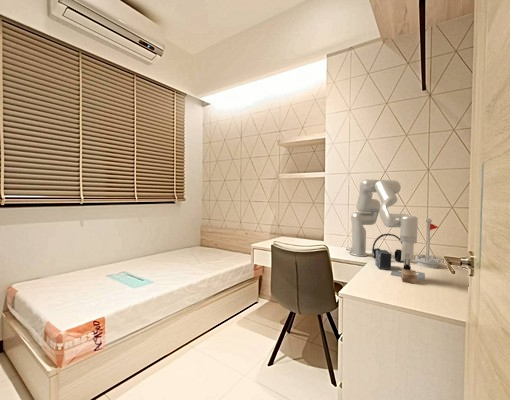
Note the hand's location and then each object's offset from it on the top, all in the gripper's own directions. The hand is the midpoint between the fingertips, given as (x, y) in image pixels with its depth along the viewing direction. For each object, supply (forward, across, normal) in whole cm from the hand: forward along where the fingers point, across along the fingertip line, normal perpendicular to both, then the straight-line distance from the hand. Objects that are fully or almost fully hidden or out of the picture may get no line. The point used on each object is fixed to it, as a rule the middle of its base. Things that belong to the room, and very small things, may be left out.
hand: (406, 273), depth 133 cm
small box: (+4, -14, -13) cm, 20 cm away
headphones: (+4, -36, -12) cm, 39 cm away
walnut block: (+3, +4, +1) cm, 5 cm away
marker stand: (+4, -38, +10) cm, 40 cm away
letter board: (+3, -8, 0) cm, 9 cm away
